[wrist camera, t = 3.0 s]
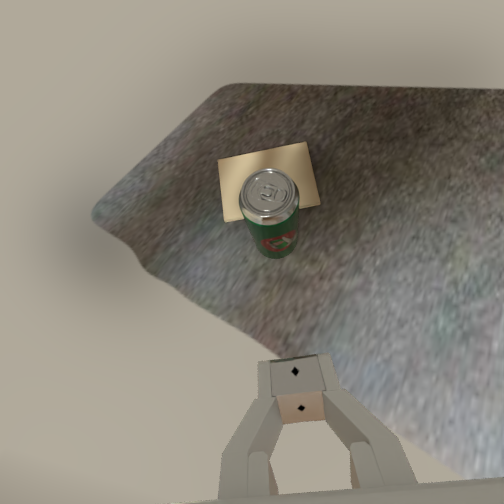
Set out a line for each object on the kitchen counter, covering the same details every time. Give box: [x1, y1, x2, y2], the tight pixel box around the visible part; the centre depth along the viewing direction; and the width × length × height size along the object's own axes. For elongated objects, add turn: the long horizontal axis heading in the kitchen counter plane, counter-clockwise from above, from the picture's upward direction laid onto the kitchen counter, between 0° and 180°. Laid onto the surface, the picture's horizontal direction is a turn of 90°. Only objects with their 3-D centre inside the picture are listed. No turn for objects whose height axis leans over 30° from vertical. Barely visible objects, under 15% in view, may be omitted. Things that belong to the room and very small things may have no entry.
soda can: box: [239, 168, 300, 259], centre depth 27 cm, size 5×5×12 cm
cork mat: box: [218, 142, 320, 222], centre depth 34 cm, size 12×9×1 cm
